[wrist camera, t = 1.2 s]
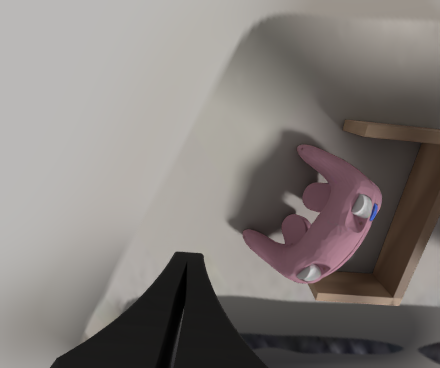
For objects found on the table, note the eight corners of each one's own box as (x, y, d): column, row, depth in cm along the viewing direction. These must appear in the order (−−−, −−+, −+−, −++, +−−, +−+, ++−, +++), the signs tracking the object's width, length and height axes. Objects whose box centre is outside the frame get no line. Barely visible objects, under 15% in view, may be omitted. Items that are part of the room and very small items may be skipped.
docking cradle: (437, 129, 19) (475, 135, 16) (377, 281, 24) (398, 305, 21) (345, 119, 19) (368, 124, 16) (304, 275, 24) (315, 300, 21)
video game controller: (269, 241, 24) (320, 303, 19) (234, 235, 22) (282, 306, 16) (330, 153, 21) (411, 197, 16) (298, 134, 19) (383, 180, 13)
